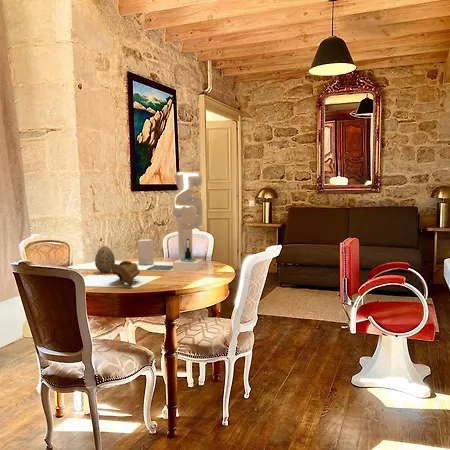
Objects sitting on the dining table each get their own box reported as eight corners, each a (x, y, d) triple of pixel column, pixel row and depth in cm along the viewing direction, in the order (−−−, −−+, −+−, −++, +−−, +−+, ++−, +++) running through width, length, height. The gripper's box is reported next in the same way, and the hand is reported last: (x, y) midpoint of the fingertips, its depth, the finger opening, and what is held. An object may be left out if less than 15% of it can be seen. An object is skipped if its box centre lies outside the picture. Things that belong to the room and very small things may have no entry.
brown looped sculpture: (92, 271, 205) (114, 257, 226) (102, 296, 207) (123, 280, 227) (124, 261, 199) (144, 247, 220) (135, 286, 201) (153, 271, 222)
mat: (154, 266, 265) (154, 265, 264) (176, 266, 262) (176, 265, 262) (146, 270, 251) (146, 269, 251) (169, 270, 248) (169, 269, 248)
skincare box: (153, 263, 275) (153, 239, 274) (151, 265, 268) (150, 240, 267) (141, 263, 276) (140, 239, 274) (137, 265, 269) (137, 240, 268)
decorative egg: (104, 270, 250) (104, 244, 249) (119, 271, 245) (118, 245, 244) (91, 273, 240) (90, 246, 239) (105, 275, 235) (105, 247, 234)
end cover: (183, 267, 259) (182, 247, 258) (197, 267, 257) (197, 248, 256) (178, 269, 250) (178, 249, 249) (193, 270, 248) (193, 249, 247)
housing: (179, 266, 262) (179, 258, 261) (202, 267, 259) (202, 259, 259) (173, 270, 248) (172, 262, 248) (196, 271, 245) (196, 262, 245)
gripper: (181, 225, 260) (182, 255, 261) (181, 227, 243) (181, 259, 244) (194, 225, 260) (194, 255, 262) (194, 227, 244) (194, 259, 245)
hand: (188, 257), depth 253 cm, fingers closed on end cover, 4 cm apart
